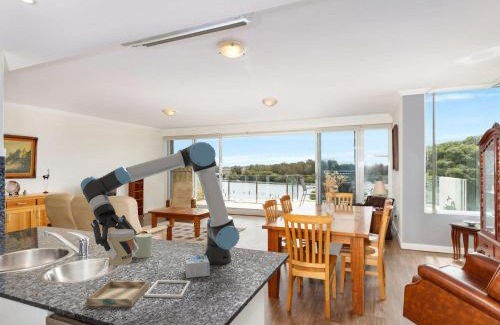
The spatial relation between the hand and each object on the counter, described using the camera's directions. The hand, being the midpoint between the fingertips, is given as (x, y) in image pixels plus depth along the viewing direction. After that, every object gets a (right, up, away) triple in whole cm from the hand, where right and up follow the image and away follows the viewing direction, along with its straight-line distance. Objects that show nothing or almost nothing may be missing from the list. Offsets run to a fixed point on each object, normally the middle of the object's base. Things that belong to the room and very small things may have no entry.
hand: (126, 253), depth 109 cm
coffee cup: (-3, -4, +1) cm, 5 cm away
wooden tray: (-3, -17, +1) cm, 17 cm away
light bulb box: (+17, -14, +25) cm, 33 cm away
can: (-13, -18, +52) cm, 57 cm away
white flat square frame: (+14, -17, +8) cm, 24 cm away
